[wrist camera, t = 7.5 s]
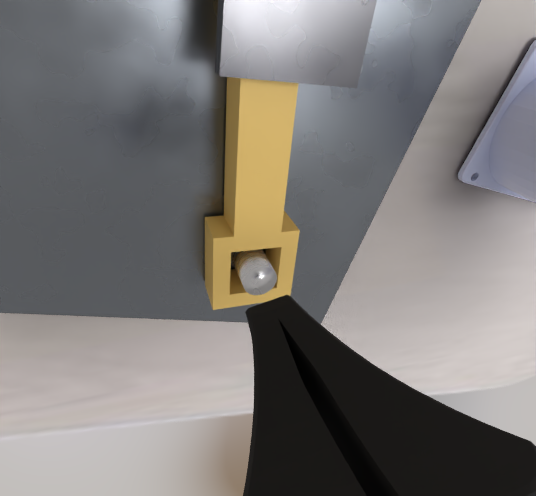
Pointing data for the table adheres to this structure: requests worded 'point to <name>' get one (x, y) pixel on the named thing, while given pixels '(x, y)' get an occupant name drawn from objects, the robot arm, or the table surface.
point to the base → (184, 153)
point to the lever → (253, 191)
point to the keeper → (293, 40)
